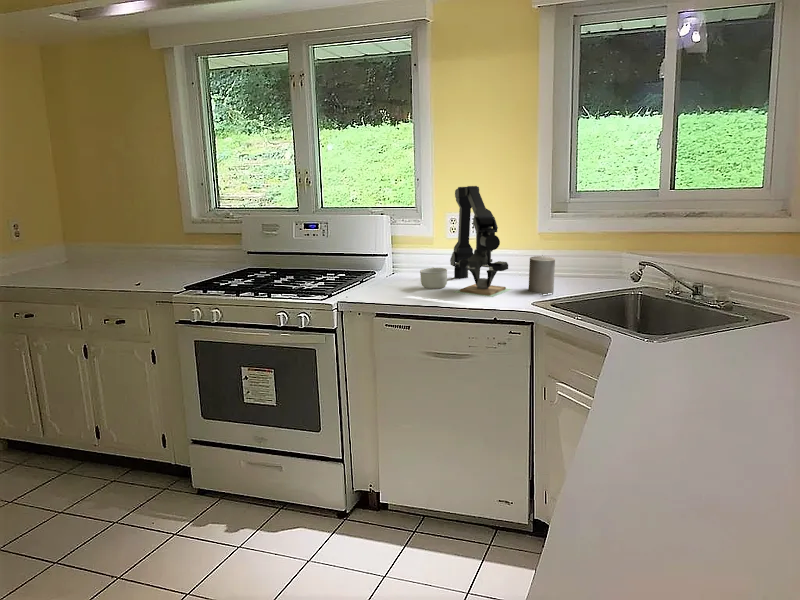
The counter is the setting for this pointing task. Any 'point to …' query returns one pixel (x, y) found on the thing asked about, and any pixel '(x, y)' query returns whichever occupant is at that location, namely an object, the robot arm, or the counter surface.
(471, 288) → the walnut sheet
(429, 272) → the teacup
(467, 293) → the sage mat
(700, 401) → the counter surface
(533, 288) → the pillar candle
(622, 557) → the counter surface
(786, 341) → the counter surface
